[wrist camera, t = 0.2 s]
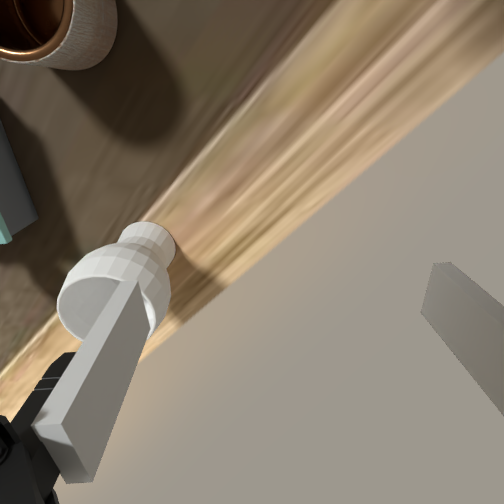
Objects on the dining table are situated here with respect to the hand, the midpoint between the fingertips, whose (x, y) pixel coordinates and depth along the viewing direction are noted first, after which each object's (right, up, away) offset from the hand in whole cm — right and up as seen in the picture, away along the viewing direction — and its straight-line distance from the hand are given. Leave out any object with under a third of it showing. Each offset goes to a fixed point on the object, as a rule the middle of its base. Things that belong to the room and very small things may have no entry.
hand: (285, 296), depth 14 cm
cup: (-16, +3, +30) cm, 34 cm away
